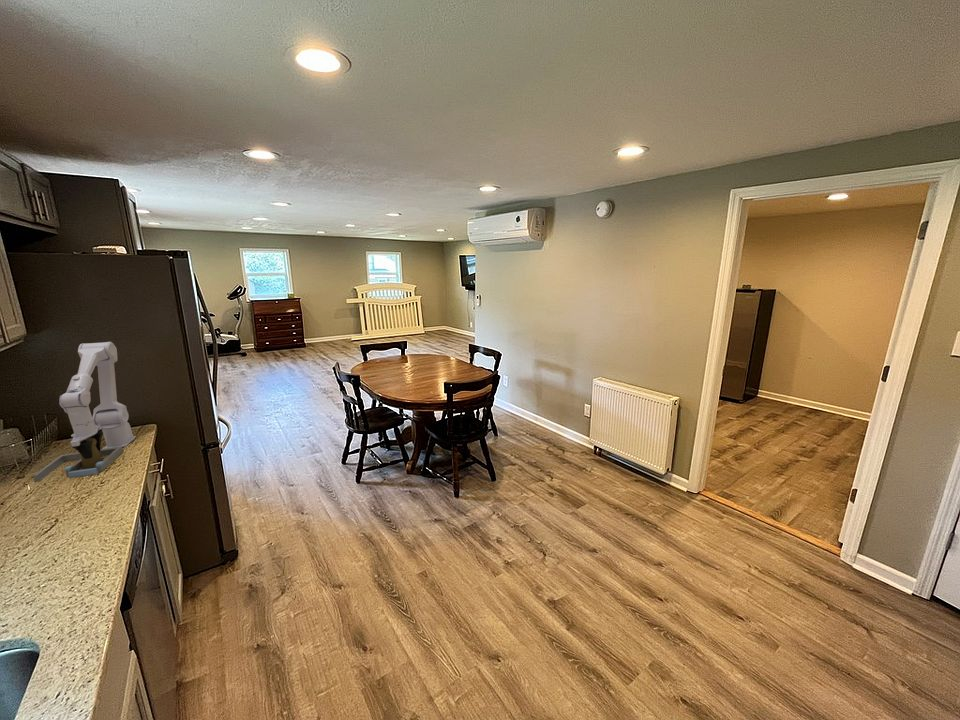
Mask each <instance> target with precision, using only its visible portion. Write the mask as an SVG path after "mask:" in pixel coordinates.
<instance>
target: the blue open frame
mask: <svg viewBox="0 0 960 720" xmlns="http://www.w3.org/2000/svg"><path fill="white" fill-rule="evenodd" d="M99 453H100V455H101V457H105V458H103V461H101V462H98V463H97V464H95V465H96V466H97V467H95V468H90V469H82V461H81V454H80V453H79V452H72V453H67V454H66V453H65V454H60V455H58V456H57V457H56V458H55V459H53V460H52V461H50V462H49V463H48V464H47V465H45V466H44V467H43V468H41V469H39V470H38V471H37V472H36V473H34V474H33V475H32V477H33V481H34V482H35V483H37V482H40V481H42V480H43V479H44V478H45V477H47V476H48V475H49V474H51V473H52V472H53V471H55V470H56V469H57V468H58V467H60V466H59V465H62V464H63V463H64V461H65V462H70V461H72V462H73V461H76V462H75V463H73V464H72V465H67V466H65V467H64V469H63V471H64V472H65V475H66V477H68V478H69V479H73V478H78V477H85V476H91V475H97V474H99V473H101V472H102V473H103V472H104V471H105V470H106V469H107V468H108V467H109V466H110V465H111V464H112V463H114V462H115V460H117V458H119V457H120V456H121V455H122V454H123V453H124V450H123V447H115V448H108V449H102V448H101V449H100V451H99ZM106 456H107V457H106ZM55 468H56V469H55ZM50 472H51V473H50Z"/></svg>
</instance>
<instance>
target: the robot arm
mask: <svg viewBox="0 0 960 720" xmlns="http://www.w3.org/2000/svg"><path fill="white" fill-rule="evenodd" d="M117 350H118V349H117V347H116V346H115V344H114V343H113V342H112V341H105V342H104V341H103V342H91V343H89V342H87V343H80V344H79V346H78V348H77V354H78V355H79V358H80V362H79V366H78V370H77V373H76V374H75V375H73V376H71V379H70V381H69V385H68V387H67V388H66V392H65V393H63V394H61V395H59V406H60V407H61V409H63V411H64V413H66V414H67V416H68V419H69V422H70V425H71V428H72V431H73V433H72V434H71V435H70V436H71V438H72V440H71V441H70V446H71V448H73V449H75V450H76V451H78V452H77V453H80V454H81V455H82V456H83V458H84V459H88V458H92V442H93V441H86V440H85V439H87V438H95V439H96V441H97V443H96V447H97V449H98V451H100V450H101V449H108V448H115V447H122V448H125V447H127V446H128V445H129V444H130V443H132V441H134V439H135V438H136V437H137V436H136V435H134V434H133V430H132V428H131V425H130V423H129V422H128V421H129V416H130V415H129V411H128V409H127V405H125V404H123V403H120V402H119V401H118V399H117V398H118V396H117V384H116V382H117V381H116V371H115V363H117V362H118V351H117ZM96 366H97V367H96ZM95 367H96V368H97V373H98V374H97V375H98V378H97V379H98V389H99V390H98V391H99V398H100V399H99V401H100V403H99V404H98V405H97V406H96V407H95V408H94V409H93V413H91V409H90V406H89V405H90V403H91V399H92V398H91V391H90V390H91V387H92V384H93V382H94V379H93V377H92V374H93V372H94V370H95ZM100 430H101V431H100ZM102 437H104V441H105V446H103V447H102V446H101V445H102ZM101 447H102V448H101Z"/></svg>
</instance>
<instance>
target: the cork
mask: <svg viewBox="0 0 960 720" xmlns="http://www.w3.org/2000/svg"><path fill="white" fill-rule="evenodd" d="M85 440H86V441H93V442H92V458H88V459H84V458H83V456H82V455H81V461H82V468H81V470H84V469H90V468H97V466H96V465H95V464H97V463H98V462H101V461H103V460H104V458H102V457H103V456H101V455H100V453H99V451H98V449H97V447H96V443H97V441H96V439H95V438H87V439H85Z"/></svg>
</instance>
